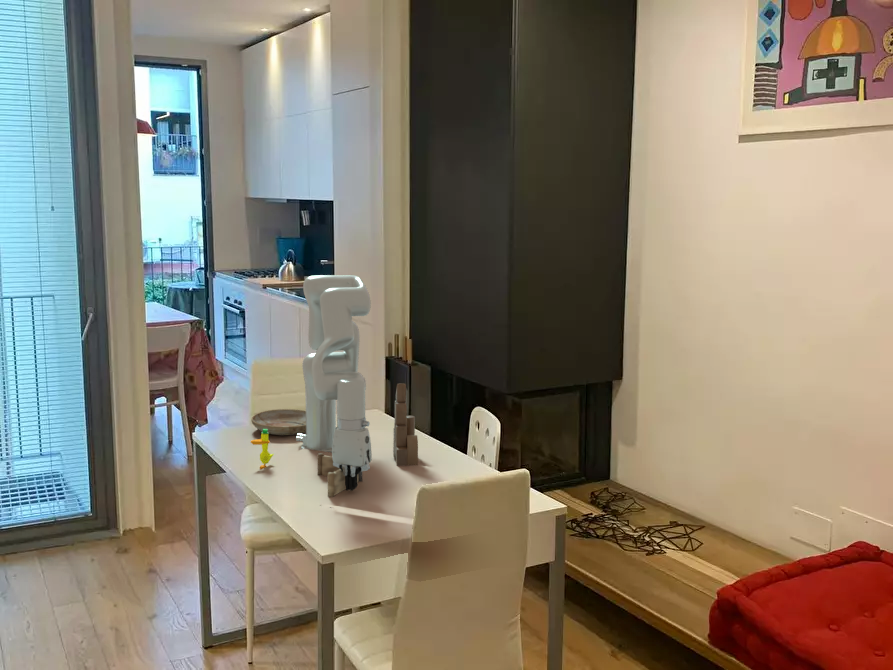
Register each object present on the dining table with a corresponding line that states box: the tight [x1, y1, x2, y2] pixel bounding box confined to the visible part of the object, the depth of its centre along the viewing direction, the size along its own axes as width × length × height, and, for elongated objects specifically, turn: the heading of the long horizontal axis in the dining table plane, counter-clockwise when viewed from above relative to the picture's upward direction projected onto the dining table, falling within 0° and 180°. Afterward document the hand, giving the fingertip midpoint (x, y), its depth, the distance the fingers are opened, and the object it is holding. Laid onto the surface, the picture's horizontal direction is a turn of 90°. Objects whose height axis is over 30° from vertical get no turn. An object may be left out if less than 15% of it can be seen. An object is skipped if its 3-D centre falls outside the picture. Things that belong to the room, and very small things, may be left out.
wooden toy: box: [392, 383, 419, 467], centre depth 268 cm, size 16×7×25 cm, turn 8°
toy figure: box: [250, 429, 275, 470], centre depth 261 cm, size 7×4×12 cm, turn 99°
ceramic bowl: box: [251, 408, 306, 436], centre depth 302 cm, size 23×24×5 cm
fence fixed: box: [317, 452, 363, 483], centre depth 250 cm, size 14×2×7 cm, turn 68°
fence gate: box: [327, 466, 359, 498], centre depth 241 cm, size 14×2×6 cm, turn 154°
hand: (351, 488), depth 238 cm, fingers closed
